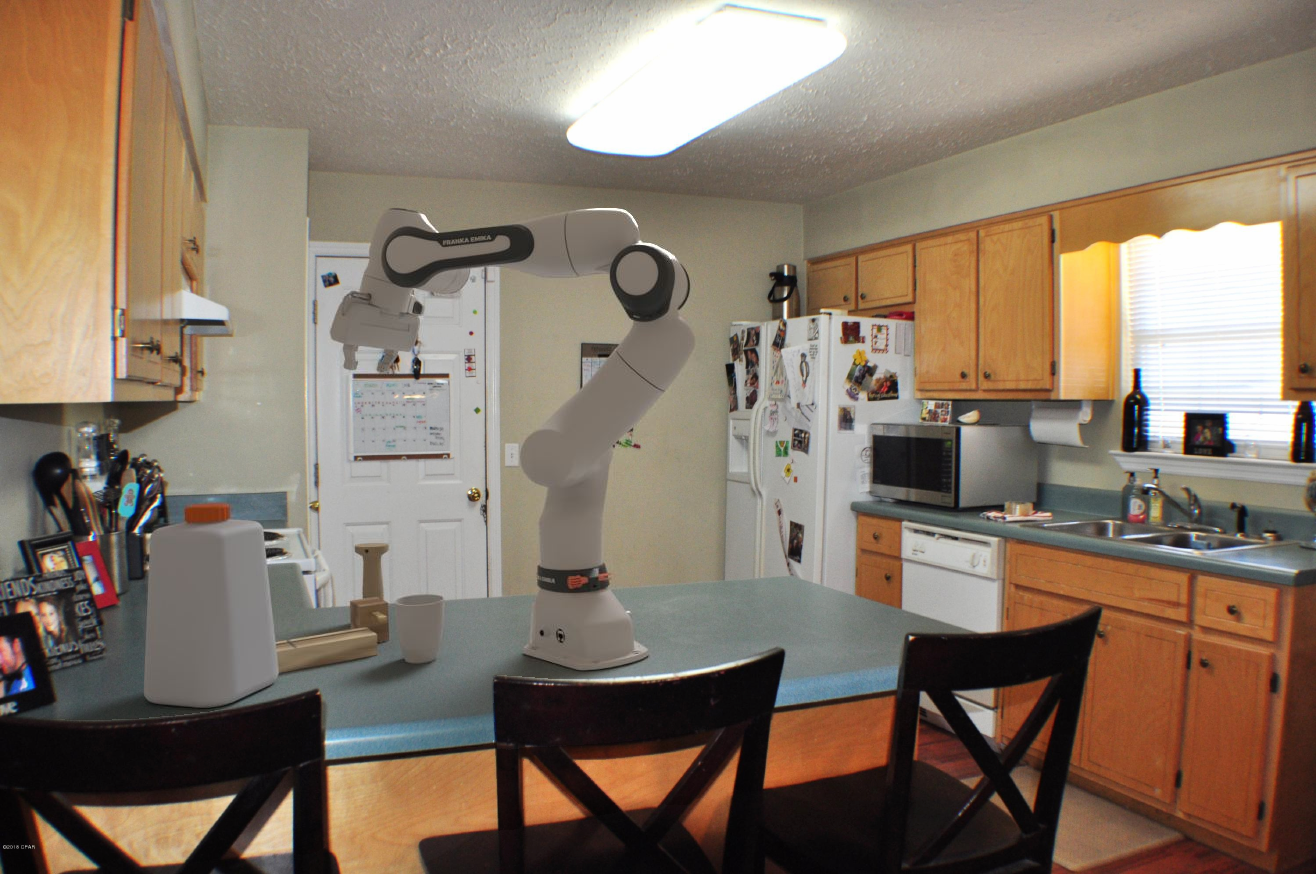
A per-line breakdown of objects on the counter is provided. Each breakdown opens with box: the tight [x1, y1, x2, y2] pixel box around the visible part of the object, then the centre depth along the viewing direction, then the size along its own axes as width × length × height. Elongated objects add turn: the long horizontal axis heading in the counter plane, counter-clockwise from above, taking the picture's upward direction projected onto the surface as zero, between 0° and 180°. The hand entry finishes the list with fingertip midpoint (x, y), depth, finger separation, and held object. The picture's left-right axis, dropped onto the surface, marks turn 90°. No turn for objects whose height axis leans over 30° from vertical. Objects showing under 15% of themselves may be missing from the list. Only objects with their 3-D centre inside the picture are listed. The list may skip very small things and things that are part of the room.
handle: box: [354, 542, 390, 601], centre depth 168 cm, size 5×6×15 cm
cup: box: [393, 593, 446, 664], centre depth 142 cm, size 8×8×10 cm
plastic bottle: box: [143, 502, 280, 709], centre depth 127 cm, size 15×15×28 cm
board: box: [275, 627, 379, 674], centre depth 143 cm, size 6×16×4 cm, turn 126°
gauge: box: [349, 597, 390, 643], centre depth 153 cm, size 11×5×7 cm, turn 36°
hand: (366, 370), depth 156 cm, fingers open, 8 cm apart
